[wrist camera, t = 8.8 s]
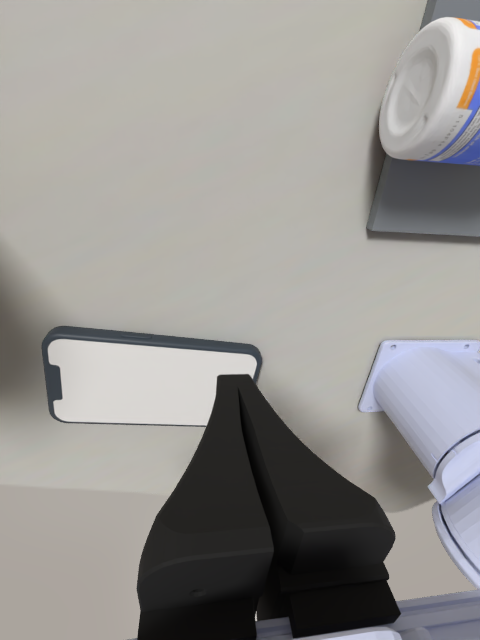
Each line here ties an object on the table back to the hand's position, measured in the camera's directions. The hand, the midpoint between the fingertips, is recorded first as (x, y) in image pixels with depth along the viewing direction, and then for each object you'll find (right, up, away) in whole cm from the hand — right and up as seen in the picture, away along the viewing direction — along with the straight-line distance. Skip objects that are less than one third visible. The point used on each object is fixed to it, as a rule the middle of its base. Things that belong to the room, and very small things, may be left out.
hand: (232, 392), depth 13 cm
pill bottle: (+8, +14, +1) cm, 16 cm away
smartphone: (-6, -1, +13) cm, 14 cm away
